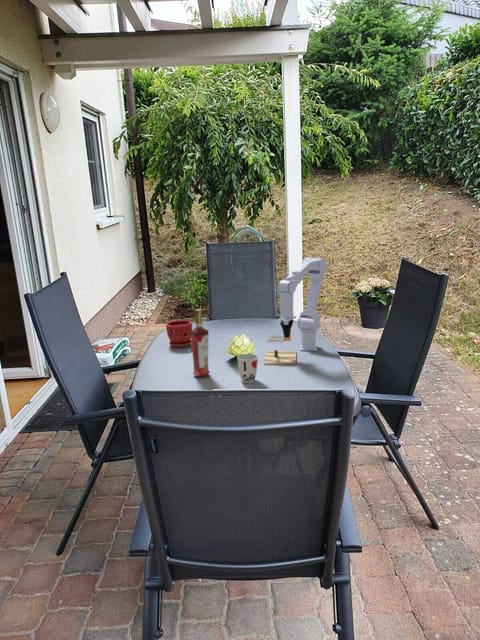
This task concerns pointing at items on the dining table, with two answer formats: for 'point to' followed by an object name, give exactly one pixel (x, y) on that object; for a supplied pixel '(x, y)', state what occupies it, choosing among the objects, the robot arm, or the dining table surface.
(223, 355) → the dining table surface
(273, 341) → the square frame with cube
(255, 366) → the cup
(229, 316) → the dining table surface
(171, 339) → the plant pot
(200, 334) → the liquor
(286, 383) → the dining table surface
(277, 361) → the board
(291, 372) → the dining table surface
